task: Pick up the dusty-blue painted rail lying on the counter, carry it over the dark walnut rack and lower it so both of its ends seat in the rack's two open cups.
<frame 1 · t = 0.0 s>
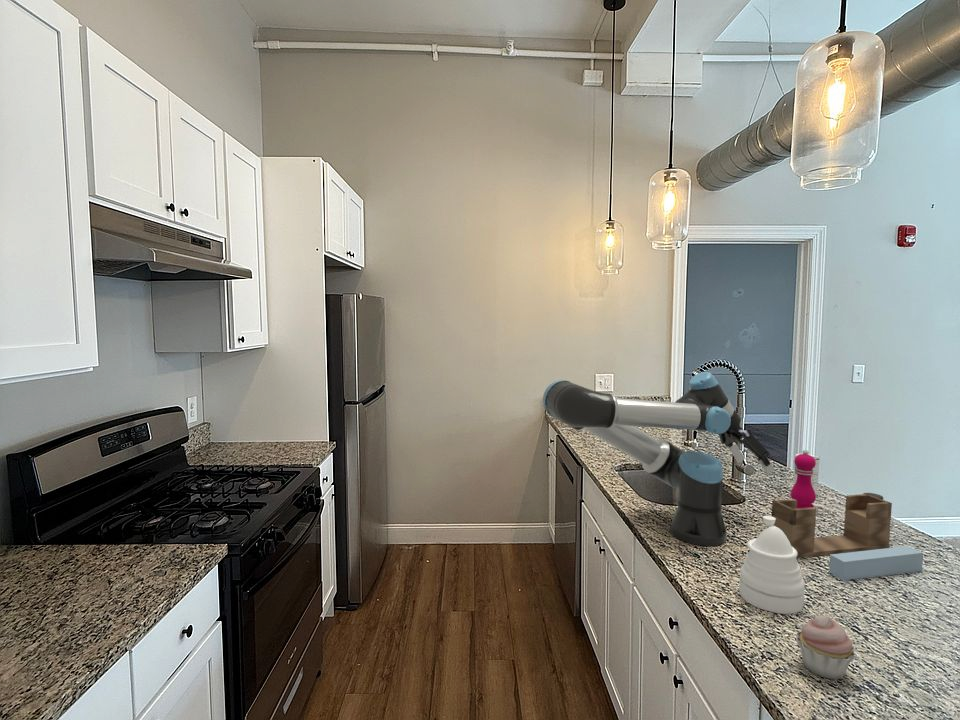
hand: (755, 466, 171), 15 cm above the worktop, tool tilted 35°, fingers open, 13 cm apart
honey pot: (770, 598, 119), on the worktop
cupcake: (824, 669, 95), on the worktop
supplement bottle: (870, 535, 154), on the worktop
pepper mill: (802, 509, 175), on the worktop
rail: (875, 572, 132), on the worktop
syrup box: (804, 495, 189), on the worktop
bracket: (829, 547, 145), on the worktop
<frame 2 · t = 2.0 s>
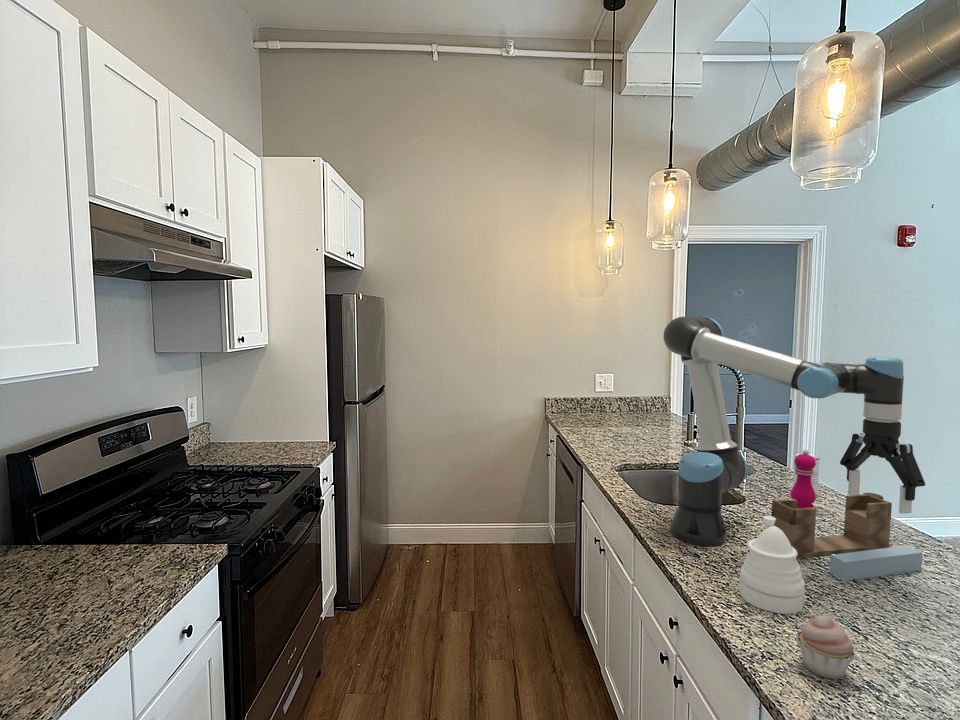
hand: (878, 503, 132), 17 cm above the worktop, tool pointing down, fingers open, 13 cm apart
nothing on the worktop moved.
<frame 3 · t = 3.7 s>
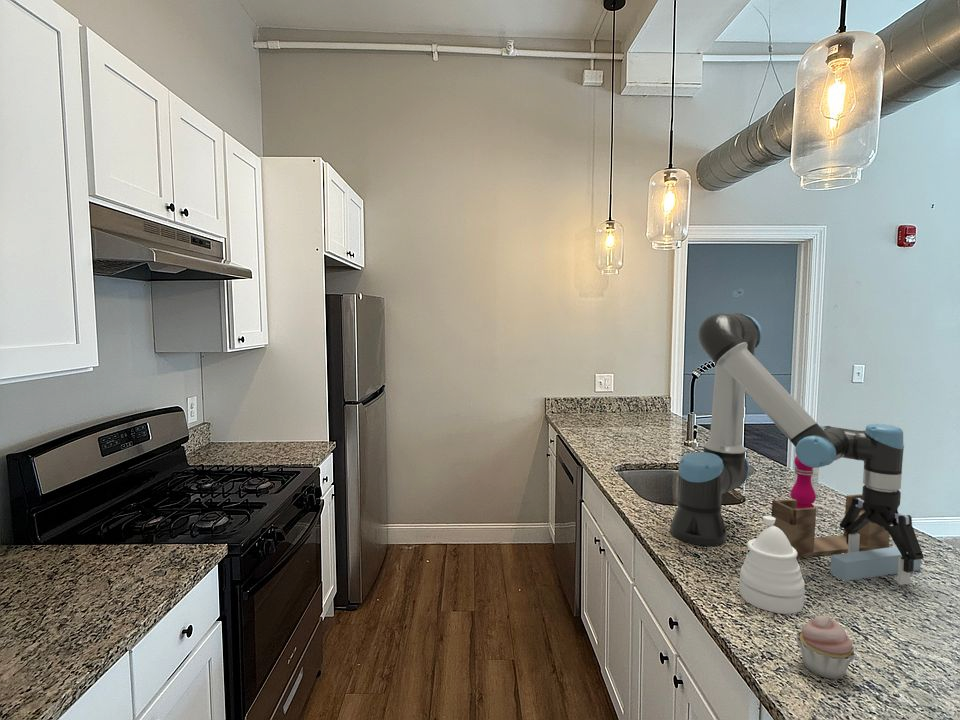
hand: (876, 570, 131), 0 cm above the worktop, tool pointing down, fingers open, 13 cm apart
nothing on the worktop moved.
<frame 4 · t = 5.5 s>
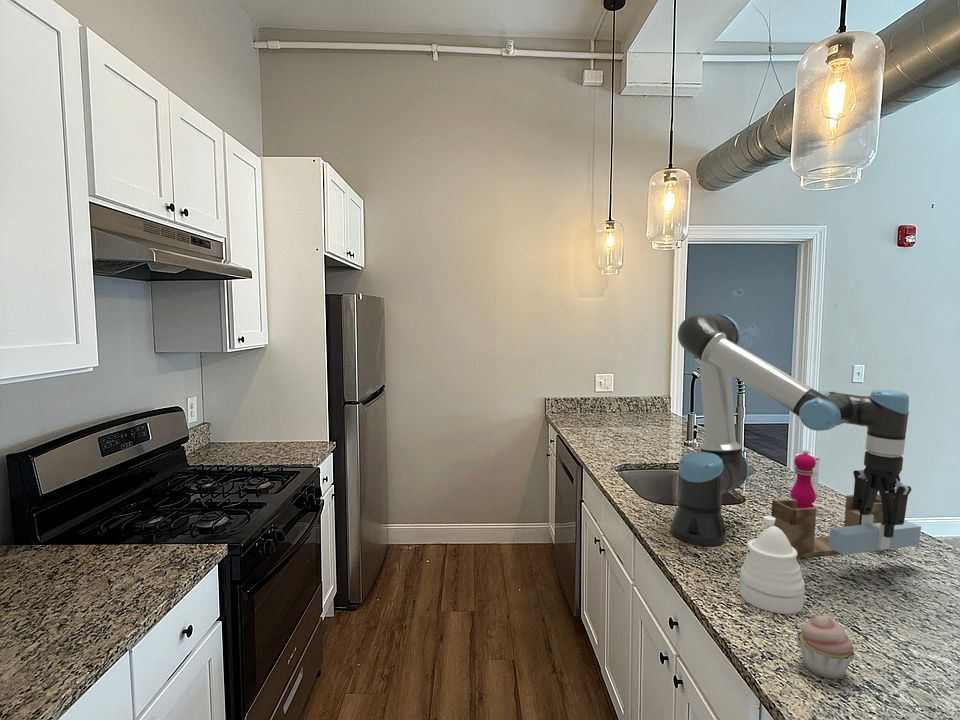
hand: (874, 543, 132), 7 cm above the worktop, tool pointing down, fingers closed on rail, 4 cm apart
rail: (874, 546, 132), point 6 cm above the worktop, touching gripper
everything else where it was.
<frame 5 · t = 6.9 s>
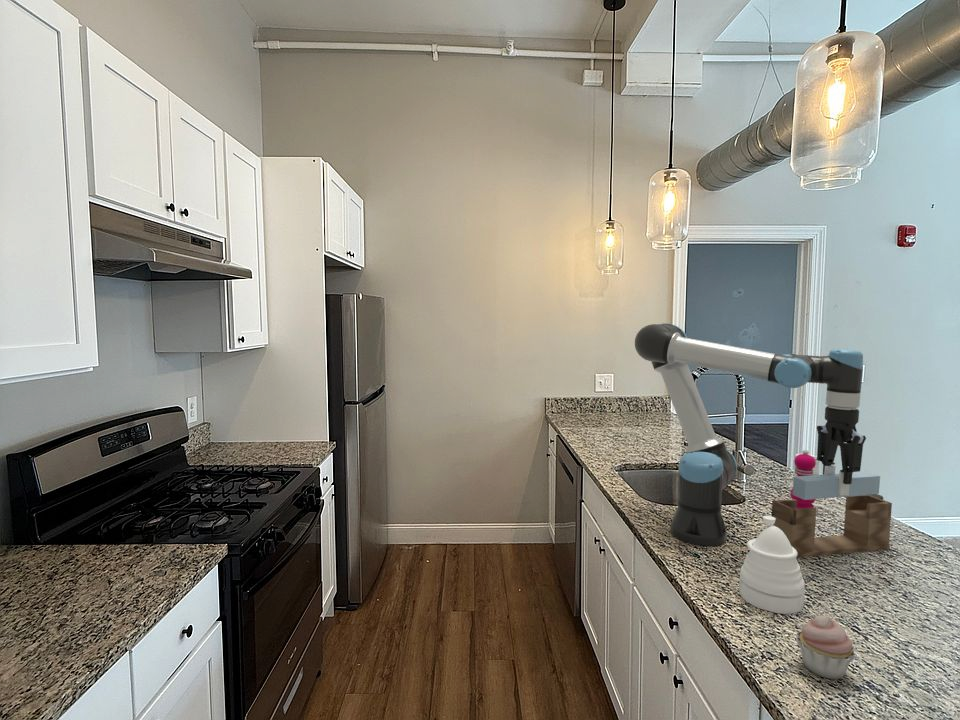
hand: (835, 491, 143), 16 cm above the worktop, tool pointing down, fingers closed on rail, 4 cm apart
rail: (835, 494, 143), point 16 cm above the worktop, touching gripper
everything else where it was.
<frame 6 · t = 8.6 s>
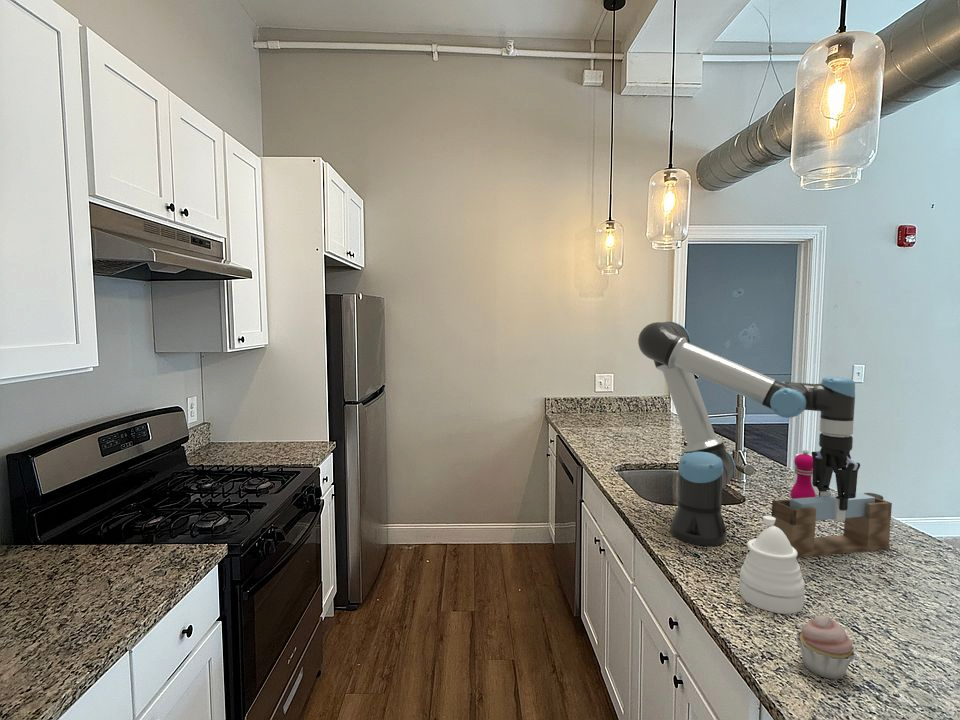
hand: (831, 517, 145), 9 cm above the worktop, tool pointing down, fingers closed on rail, 4 cm apart
rail: (831, 516, 145), point 9 cm above the worktop, touching bracket, gripper
everything else where it was.
when the fingers open (8 cm above the worktop, at t = 9.2 s): rail stays where it is, resting on bracket.
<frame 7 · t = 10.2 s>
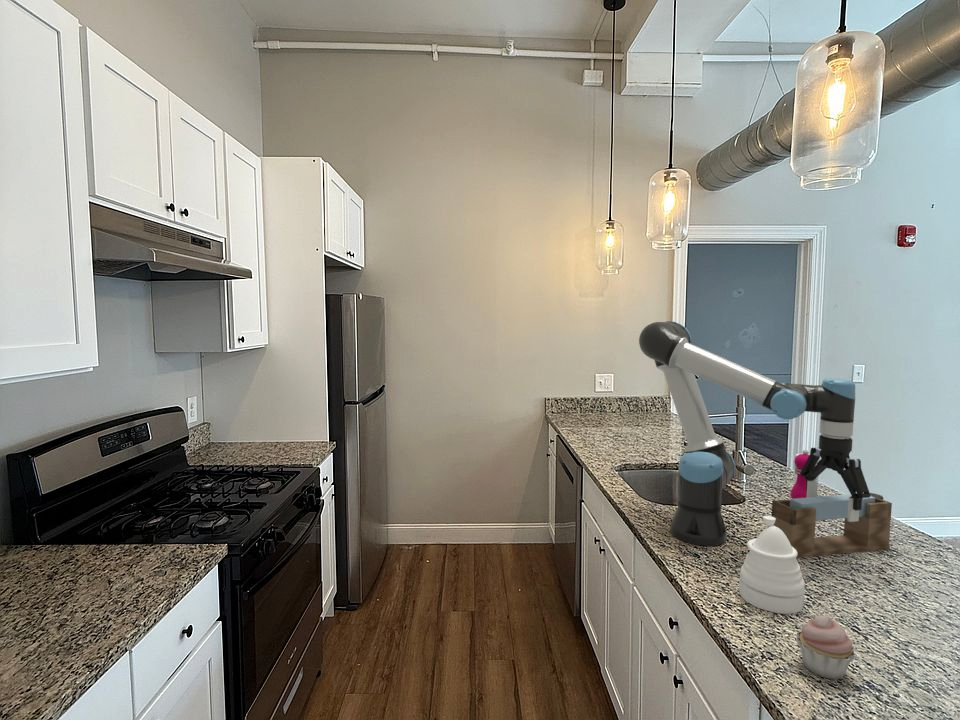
hand: (831, 511, 145), 10 cm above the worktop, tool pointing down, fingers open, 13 cm apart
rail: (831, 516, 145), point 9 cm above the worktop, touching bracket
everything else where it was.
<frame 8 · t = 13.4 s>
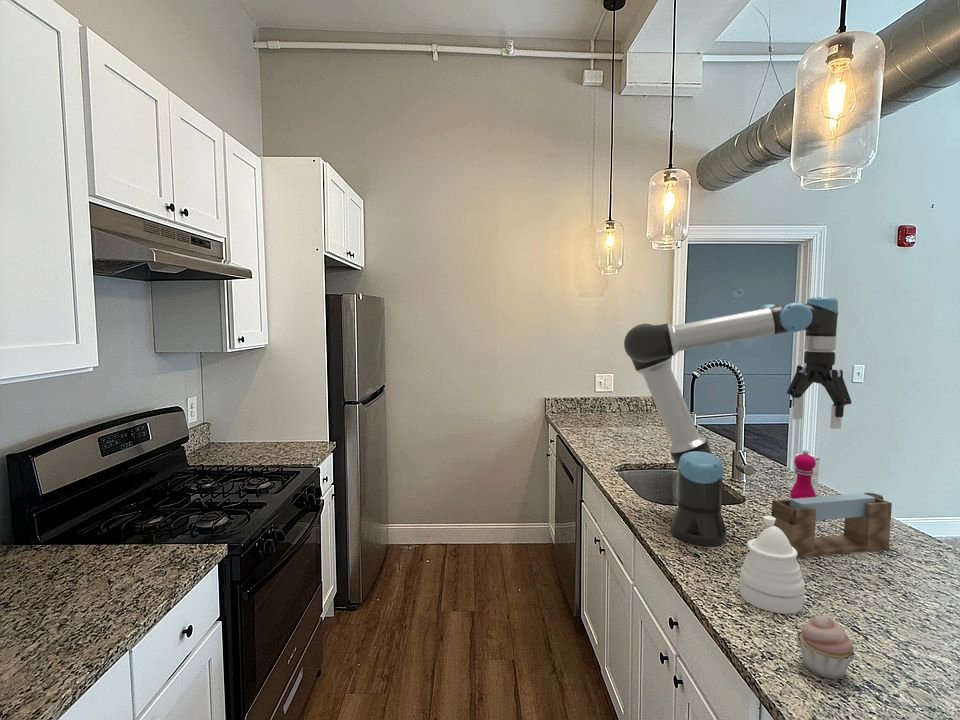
hand: (815, 423, 153), 33 cm above the worktop, tool pointing down, fingers open, 13 cm apart
nothing on the worktop moved.
at the end: rail 0.1 cm off-centre on the bracket, point 9.0 cm above the bracket's base; rail tilted 0°; the gripper is holding nothing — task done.
